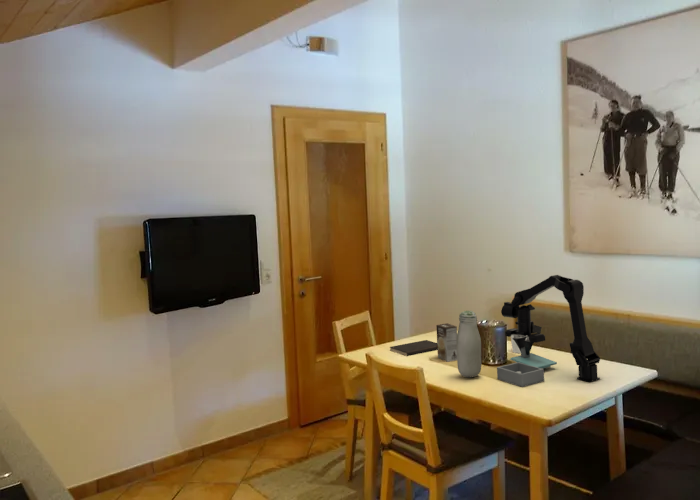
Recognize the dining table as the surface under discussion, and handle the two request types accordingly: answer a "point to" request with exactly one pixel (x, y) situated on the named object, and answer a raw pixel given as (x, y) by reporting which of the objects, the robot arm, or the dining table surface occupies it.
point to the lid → (533, 360)
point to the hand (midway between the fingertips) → (525, 354)
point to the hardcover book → (415, 347)
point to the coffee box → (447, 342)
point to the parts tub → (520, 374)
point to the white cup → (515, 345)
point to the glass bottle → (468, 345)
